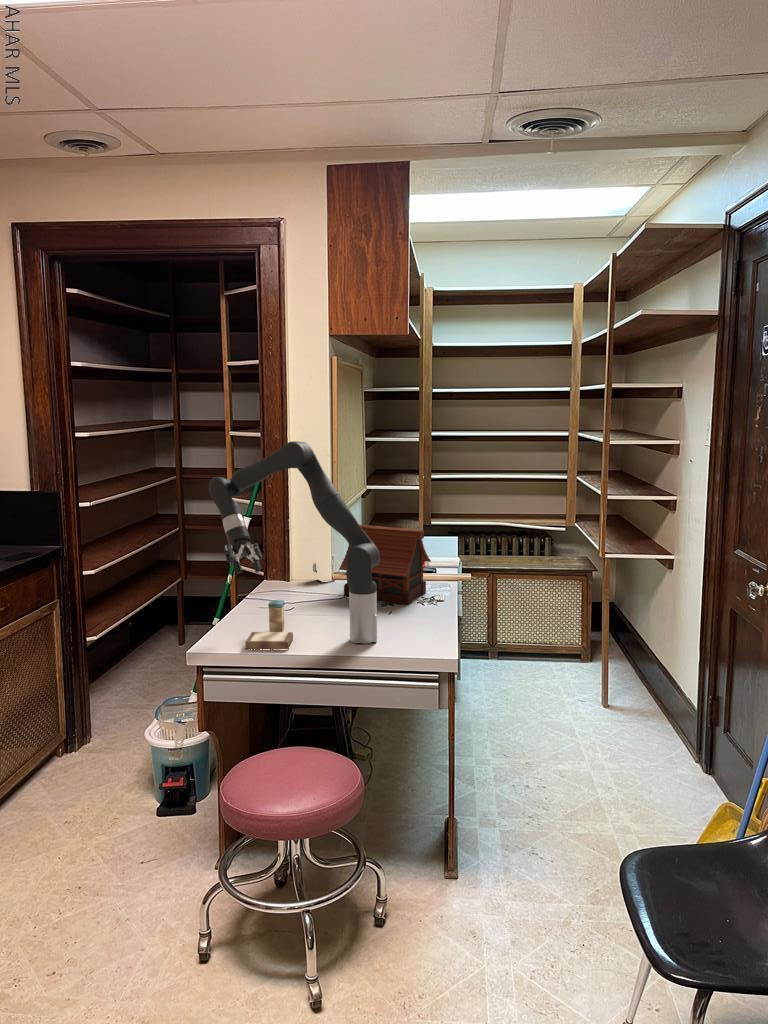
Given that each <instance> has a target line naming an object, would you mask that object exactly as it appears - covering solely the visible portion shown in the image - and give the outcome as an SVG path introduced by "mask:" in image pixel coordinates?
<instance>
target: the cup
mask: <svg viewBox="0 0 768 1024" xmlns="http://www.w3.org/2000/svg"><path fill="white" fill-rule="evenodd" d="M332 560H333V565H332V570H333V572H335V569H336V568H335V567H336V553H334V555H333V556H332ZM313 563H314V562H313ZM313 563H312V564H313ZM316 569H317V566H316V563H314V564H313V566H312V572H313V573H315V572H316V573H315V574H317V570H316Z"/></svg>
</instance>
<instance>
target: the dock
mask: <svg viewBox="0 0 768 1024" xmlns="http://www.w3.org/2000/svg"><path fill="white" fill-rule="evenodd" d="M293 641H294V632H291V631H284V632H269V631H251V633H250V634H249V635H248V638H247V639H246V640H245V650H246V649H250V650H249V651H264V650H263V649H270V650H269V651H274V650H273V649H289V650H290V648H289V647H291V646H290V645H292V644H291V643H293ZM251 649H252V650H251ZM254 649H255V650H254ZM260 649H262V650H260ZM271 649H272V650H271Z"/></svg>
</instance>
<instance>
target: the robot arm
mask: <svg viewBox="0 0 768 1024" xmlns="http://www.w3.org/2000/svg"><path fill="white" fill-rule="evenodd" d="M288 469H297V470H298V471H299V472H300V474H301V475H302V477H303V478H304V479H305V481H306V483H307V485H308V488H309V491H310V496H311V499H312V503H313V505H314V507H315V509H316V510H317V511H318V514H320V516H321V518H322V519H323V520H324V521H325V523H326V524H327V525H328V526H330V528H332V529H334V530H335V532H337V533H339V534H340V535H341V536H342V537H343V538H344V539H345V540H346V542H347V543H348V546H349V545H350V547H351V549H350V550H349V551H348V553H347V556H346V570H345V571H346V573H345V574H347V575H346V583H348V585H349V598H348V600H349V602H348V603H349V604H348V605H349V641H350V640H351V641H352V642H351V641H350V642H351V643H353V642H355V643H354V644H356V643H370V644H372V643H371V642H378V610H377V608H378V605H377V604H378V603H377V602H378V601H377V585H376V583H375V582H374V581H372V576H371V569H372V568H374V567H376V566H377V565H378V564H379V562H380V553H379V550H378V549H377V547H376V546H375V544H374V543H373V542H372V541H371V539H370V538H369V537H368V536H367V534H366V533H365V532H364V531H363V529H362V528H361V527H360V525H361V524H359V522H358V520H357V519H356V518H355V516H354V515H353V513H352V512H351V510H350V509H349V507H348V505H347V503H346V502H345V500H344V499H343V498H342V495H340V493H339V491H338V489H336V486H334V484H333V482H332V481H331V480H330V478H329V477H328V475H327V473H326V472H325V471H324V469H323V467H322V465H321V463H320V461H319V459H318V458H317V456H316V454H315V452H314V450H313V449H312V447H311V446H310V445H309V444H308V443H307V442H304V441H299V440H298V441H295V440H293V441H289V442H286V443H285V444H284V445H282V446H281V447H279V448H278V449H277V450H275V451H274V452H272V453H271V454H269V455H267V456H266V457H263V458H262V459H260V460H258V461H255V462H253V463H251V464H248V465H246V466H244V467H242V468H240V469H238V470H236V471H234V472H233V474H232V476H231V478H229V479H228V478H224V477H222V476H221V477H220V476H215V477H213V478H211V479H210V481H209V482H208V483H209V484H208V491H209V495H210V497H211V499H212V500H213V502H214V504H215V506H216V507H217V508H218V510H219V513H220V517H221V520H222V524H223V525H222V526H223V529H224V533H225V535H226V539H227V542H228V543H227V544H226V545H224V546H223V551H224V554H225V558H226V561H227V563H231V564H232V565H233V568H234V571H235V572H236V574H241V573H242V572H243V569H242V564H241V562H240V558H242V557H243V558H247V559H248V560H250V561H251V562H252V566H253V570H254V571H255V573H260V572H261V571H262V567H261V563H260V560H262V559H263V554H262V552H261V549H260V546H259V544H258V542H255V543H254V544H252V543H251V542H250V539H251V536H250V533H249V531H248V527H247V525H246V521H245V519H244V517H243V514H242V511H241V508H240V505H239V503H238V502H237V501H236V500H234V499H233V498H235V497H236V496H238V495H240V494H241V493H242V492H243V491H244V490H246V489H248V488H250V487H252V486H254V485H257V484H259V483H261V482H263V481H264V480H266V478H268V477H270V476H272V475H273V474H276V473H278V472H280V471H281V472H282V471H284V470H288Z"/></svg>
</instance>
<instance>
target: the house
mask: <svg viewBox="0 0 768 1024" xmlns="http://www.w3.org/2000/svg"><path fill="white" fill-rule="evenodd" d="M359 525H360V527H361V528H362V529H363V531H364V532H365V533H366V534H367V536H368V537H369V538H370V539H371V541H372V542H373V543H374V544H375V546H376V547H377V549H378V550H379V553H380V562H379V564H378V565H377V566H376V567H374V568H372V569H371V576H372V581H374V582H375V583H376V585H377V602H379V601H381V602H380V603H387V604H388V603H389V604H395V605H405V606H410V605H411V604H412V603H413V602H415V601H416V600H417V599H419V598H421V596H424V595H426V593H427V581H426V580H424V574H425V572H426V570H425V569H424V565H425V562H427V563H431V561H432V560H431V558H429V556H428V554H427V552H426V549H425V546H424V545H425V544H424V542H423V539H425V530H424V529H416V528H415V529H414V528H403V527H401V528H400V527H391V526H390V527H387V526H381V525H380V526H377V525H367V524H359ZM350 549H351V547H350V545H349V544H348V546H347V549H346V554H345V555H344V558H343V561H342V562H341V564H340V566H339V568H338V569H339V570H341V571H346V556H347V553H348V551H349V550H350ZM344 576H347V574H346V573H344ZM343 596H346V597H345V598H347V597H349V585H348V583H347V582H346V583H345V584H344V585H343Z"/></svg>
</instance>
